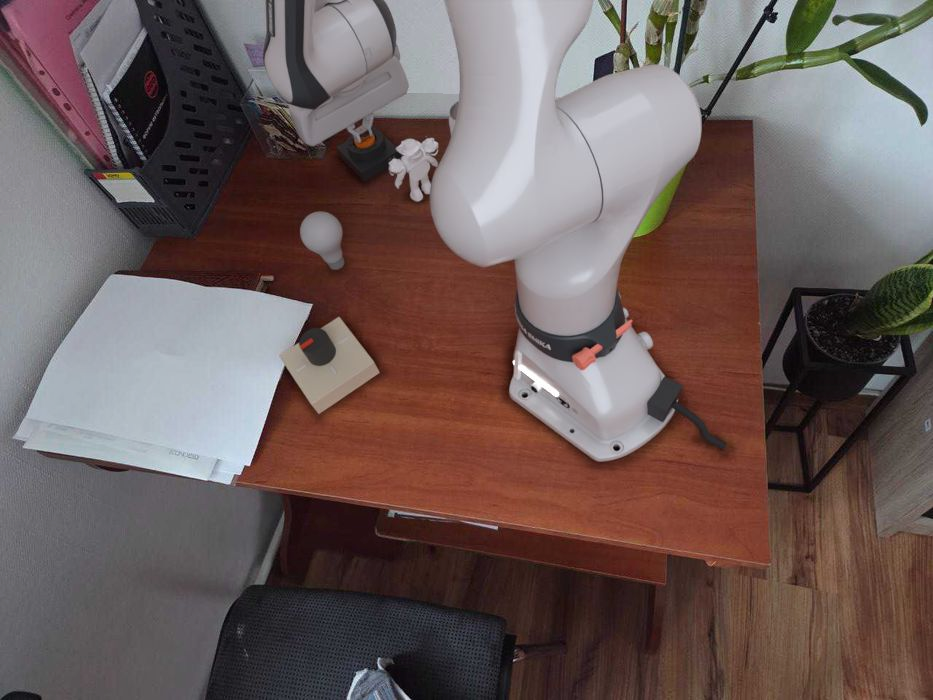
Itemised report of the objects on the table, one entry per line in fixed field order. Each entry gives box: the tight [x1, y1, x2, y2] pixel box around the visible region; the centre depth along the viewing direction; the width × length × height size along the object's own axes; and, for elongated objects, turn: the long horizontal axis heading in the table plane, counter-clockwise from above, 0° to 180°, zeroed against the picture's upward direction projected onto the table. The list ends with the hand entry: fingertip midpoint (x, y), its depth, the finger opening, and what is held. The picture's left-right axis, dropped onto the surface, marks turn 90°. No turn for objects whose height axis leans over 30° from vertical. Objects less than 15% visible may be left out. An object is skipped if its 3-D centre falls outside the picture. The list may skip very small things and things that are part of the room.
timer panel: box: [278, 316, 380, 415], centre depth 86 cm, size 10×10×3 cm
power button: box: [354, 135, 376, 149], centre depth 107 cm, size 4×4×2 cm
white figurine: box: [388, 137, 439, 202], centre depth 98 cm, size 9×4×12 cm, turn 126°
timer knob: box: [298, 327, 336, 366], centre depth 83 cm, size 4×4×4 cm
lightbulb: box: [299, 210, 346, 271], centre depth 92 cm, size 6×6×11 cm
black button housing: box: [336, 125, 403, 183], centre depth 108 cm, size 9×8×4 cm
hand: (363, 138), depth 106 cm, fingers closed, pressing on power button
